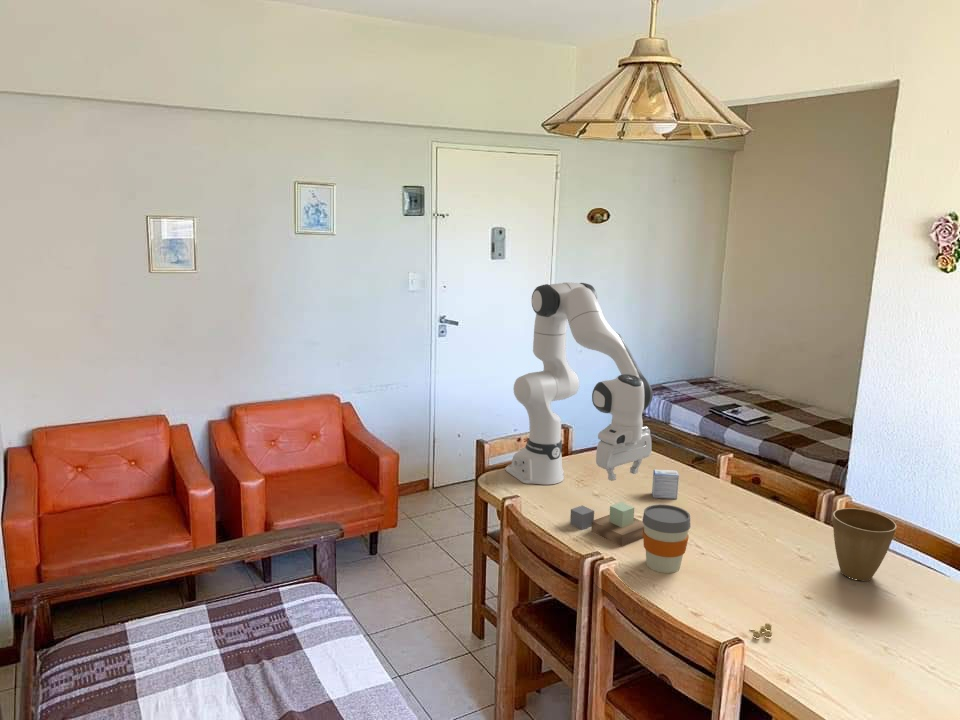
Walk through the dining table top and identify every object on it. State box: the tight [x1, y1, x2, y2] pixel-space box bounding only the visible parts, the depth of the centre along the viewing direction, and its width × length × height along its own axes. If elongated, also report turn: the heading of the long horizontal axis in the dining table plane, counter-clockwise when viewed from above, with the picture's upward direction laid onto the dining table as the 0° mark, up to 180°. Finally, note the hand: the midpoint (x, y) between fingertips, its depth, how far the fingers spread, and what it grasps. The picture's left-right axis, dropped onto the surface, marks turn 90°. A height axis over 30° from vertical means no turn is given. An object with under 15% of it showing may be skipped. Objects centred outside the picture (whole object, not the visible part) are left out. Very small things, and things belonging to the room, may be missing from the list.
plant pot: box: [832, 507, 898, 581], centre depth 196 cm, size 15×15×16 cm
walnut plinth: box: [590, 514, 644, 548], centre depth 219 cm, size 12×12×4 cm
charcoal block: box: [569, 505, 595, 531], centre depth 224 cm, size 5×5×5 cm
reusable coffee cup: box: [642, 504, 691, 574], centre depth 199 cm, size 13×12×15 cm
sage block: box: [608, 501, 635, 528], centre depth 218 cm, size 5×5×5 cm
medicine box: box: [651, 469, 680, 500], centre depth 247 cm, size 8×4×9 cm, turn 84°
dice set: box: [752, 622, 773, 638], centre depth 169 cm, size 5×5×2 cm
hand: (623, 476), depth 216 cm, fingers open, 8 cm apart
